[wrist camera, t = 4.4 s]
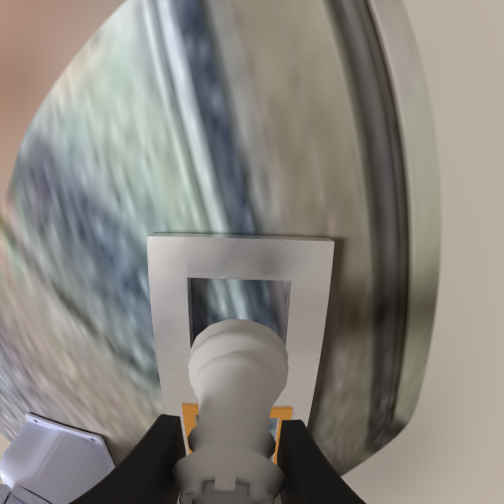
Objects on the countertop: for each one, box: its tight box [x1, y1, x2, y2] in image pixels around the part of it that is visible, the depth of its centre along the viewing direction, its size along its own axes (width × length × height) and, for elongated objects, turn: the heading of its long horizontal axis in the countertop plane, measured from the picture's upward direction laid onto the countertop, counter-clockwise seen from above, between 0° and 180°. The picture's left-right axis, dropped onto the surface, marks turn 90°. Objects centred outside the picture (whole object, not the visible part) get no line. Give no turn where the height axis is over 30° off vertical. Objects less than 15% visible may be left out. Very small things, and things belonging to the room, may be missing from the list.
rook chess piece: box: [171, 319, 289, 504], centre depth 10 cm, size 4×4×8 cm
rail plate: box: [147, 233, 334, 465], centre depth 18 cm, size 10×20×1 cm, turn 178°
